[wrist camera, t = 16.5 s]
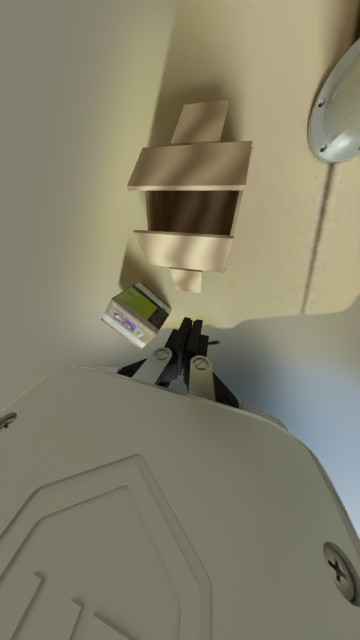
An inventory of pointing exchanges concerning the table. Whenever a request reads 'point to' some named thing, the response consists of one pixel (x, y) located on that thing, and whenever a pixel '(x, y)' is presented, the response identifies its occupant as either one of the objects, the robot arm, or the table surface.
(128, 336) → the tea box
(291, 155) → the table surface
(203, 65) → the table surface
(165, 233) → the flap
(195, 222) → the carton
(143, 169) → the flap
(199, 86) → the table surface
